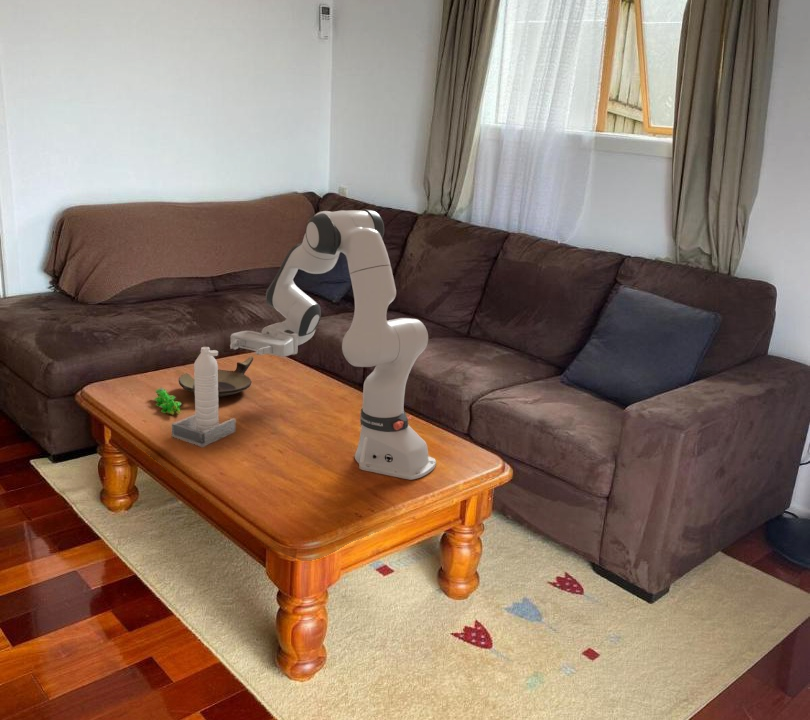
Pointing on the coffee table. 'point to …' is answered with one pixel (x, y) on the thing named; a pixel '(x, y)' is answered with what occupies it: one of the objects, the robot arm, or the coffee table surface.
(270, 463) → the coffee table surface
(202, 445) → the keeper cradle
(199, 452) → the coffee table surface
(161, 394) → the crocodile figurine
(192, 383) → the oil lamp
